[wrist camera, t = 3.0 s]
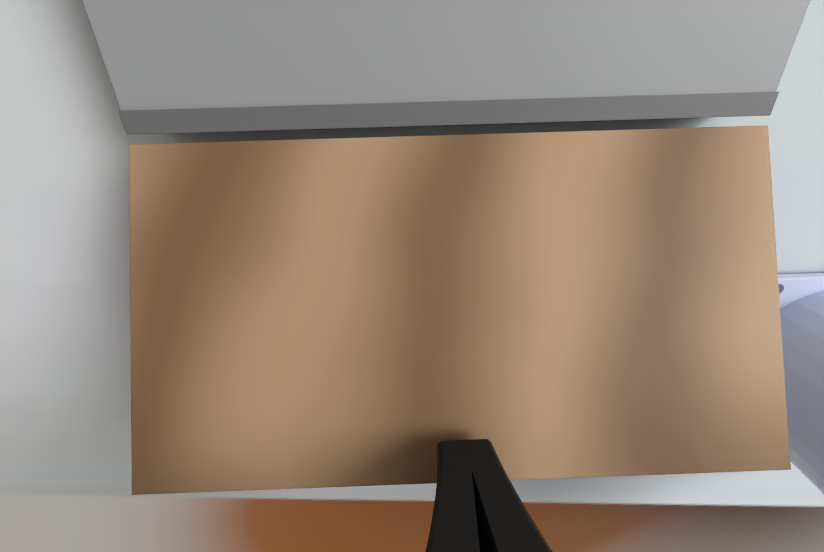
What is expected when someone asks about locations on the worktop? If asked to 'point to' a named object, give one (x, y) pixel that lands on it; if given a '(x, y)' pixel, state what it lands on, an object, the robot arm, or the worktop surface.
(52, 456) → the worktop surface
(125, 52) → the floor board
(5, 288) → the worktop surface
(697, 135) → the tan flat block
